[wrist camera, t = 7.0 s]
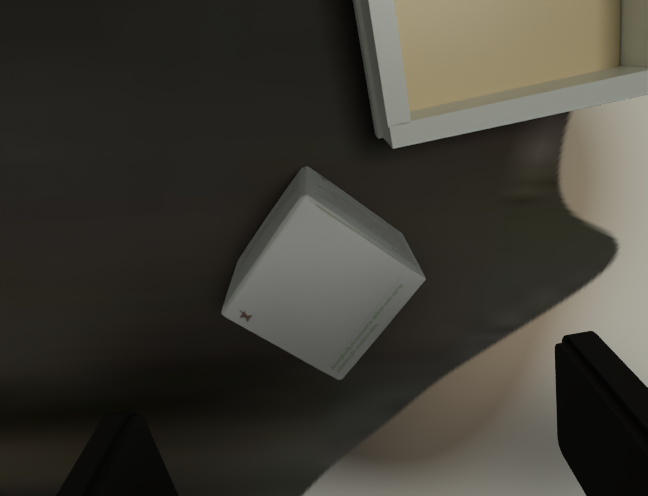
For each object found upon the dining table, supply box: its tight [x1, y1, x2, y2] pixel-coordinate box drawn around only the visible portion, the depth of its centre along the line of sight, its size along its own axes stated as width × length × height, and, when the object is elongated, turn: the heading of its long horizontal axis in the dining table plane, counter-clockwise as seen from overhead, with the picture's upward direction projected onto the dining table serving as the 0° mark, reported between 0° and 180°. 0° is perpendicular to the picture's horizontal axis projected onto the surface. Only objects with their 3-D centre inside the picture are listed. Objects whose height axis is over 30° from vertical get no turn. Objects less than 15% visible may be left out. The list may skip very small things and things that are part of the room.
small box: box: [221, 166, 426, 380], centre depth 20 cm, size 6×6×5 cm
